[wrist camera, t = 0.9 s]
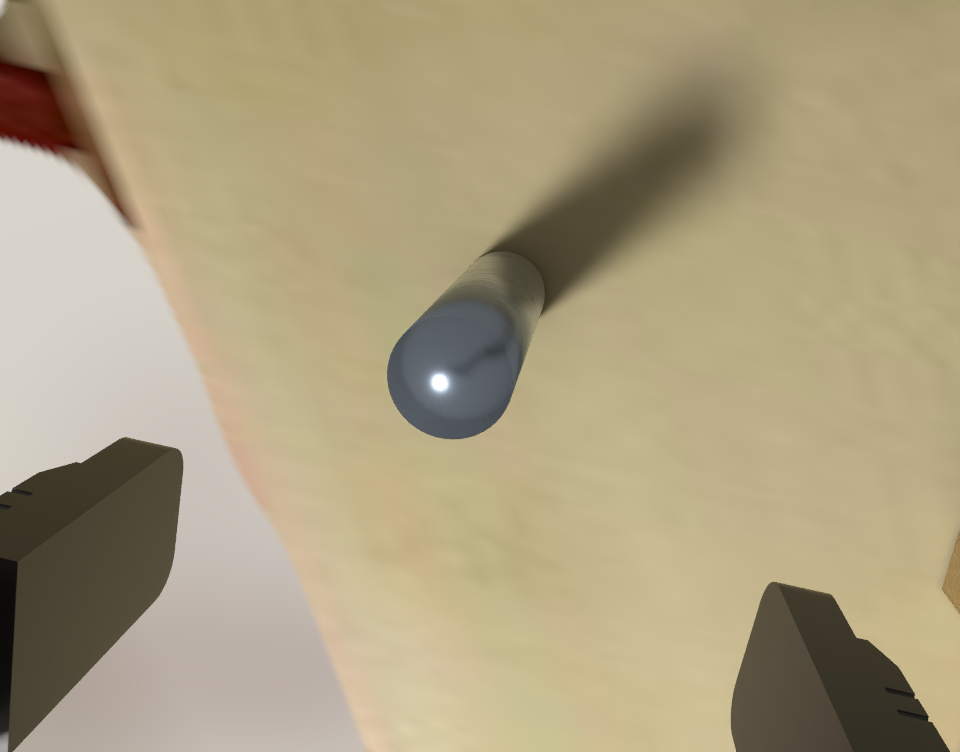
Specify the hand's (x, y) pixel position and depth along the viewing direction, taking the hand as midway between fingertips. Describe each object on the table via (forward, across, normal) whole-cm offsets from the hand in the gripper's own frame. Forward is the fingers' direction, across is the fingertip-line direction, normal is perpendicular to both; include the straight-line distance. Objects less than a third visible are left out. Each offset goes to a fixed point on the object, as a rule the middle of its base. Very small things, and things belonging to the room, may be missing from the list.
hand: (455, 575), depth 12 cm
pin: (+22, +1, 0) cm, 23 cm away
